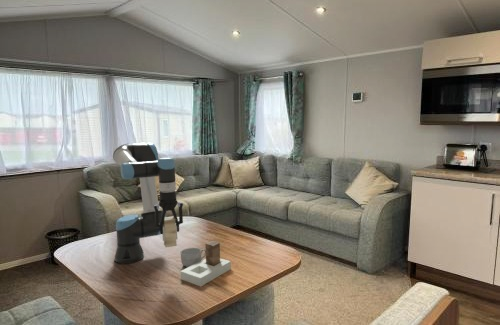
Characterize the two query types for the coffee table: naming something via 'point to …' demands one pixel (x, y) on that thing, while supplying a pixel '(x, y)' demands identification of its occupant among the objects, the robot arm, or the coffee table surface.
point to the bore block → (204, 272)
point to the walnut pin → (212, 253)
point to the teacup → (191, 256)
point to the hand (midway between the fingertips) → (170, 239)
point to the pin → (170, 231)
